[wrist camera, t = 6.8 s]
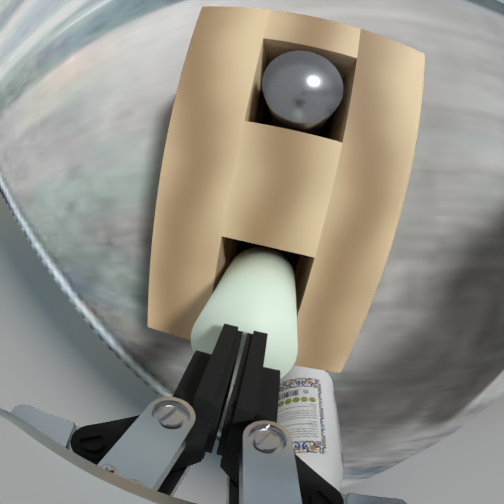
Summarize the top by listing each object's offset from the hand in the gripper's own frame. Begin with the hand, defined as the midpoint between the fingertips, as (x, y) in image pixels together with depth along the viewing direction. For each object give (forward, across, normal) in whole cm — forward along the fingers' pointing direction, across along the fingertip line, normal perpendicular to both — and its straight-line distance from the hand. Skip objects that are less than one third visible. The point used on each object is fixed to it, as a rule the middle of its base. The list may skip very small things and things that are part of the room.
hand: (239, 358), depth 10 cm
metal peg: (+14, 0, -12) cm, 19 cm away
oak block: (+15, 0, -6) cm, 16 cm away
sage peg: (+9, 0, 0) cm, 9 cm away
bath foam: (+15, -7, +14) cm, 22 cm away
